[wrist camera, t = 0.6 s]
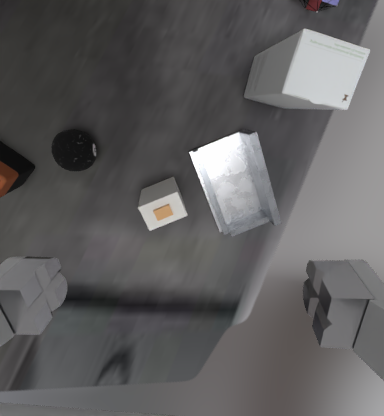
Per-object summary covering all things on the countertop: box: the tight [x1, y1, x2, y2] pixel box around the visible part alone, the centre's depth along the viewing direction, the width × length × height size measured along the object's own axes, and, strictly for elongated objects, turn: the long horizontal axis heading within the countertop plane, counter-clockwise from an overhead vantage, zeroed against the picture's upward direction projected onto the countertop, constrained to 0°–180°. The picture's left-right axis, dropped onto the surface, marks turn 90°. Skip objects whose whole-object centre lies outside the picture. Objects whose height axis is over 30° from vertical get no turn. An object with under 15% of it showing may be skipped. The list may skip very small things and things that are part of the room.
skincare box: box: [244, 29, 370, 110], centre depth 35 cm, size 8×7×16 cm
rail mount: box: [189, 129, 281, 237], centre depth 44 cm, size 16×10×6 cm, turn 21°
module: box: [138, 176, 187, 231], centre depth 42 cm, size 4×6×10 cm, turn 111°
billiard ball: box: [52, 130, 96, 171], centre depth 39 cm, size 6×6×6 cm
